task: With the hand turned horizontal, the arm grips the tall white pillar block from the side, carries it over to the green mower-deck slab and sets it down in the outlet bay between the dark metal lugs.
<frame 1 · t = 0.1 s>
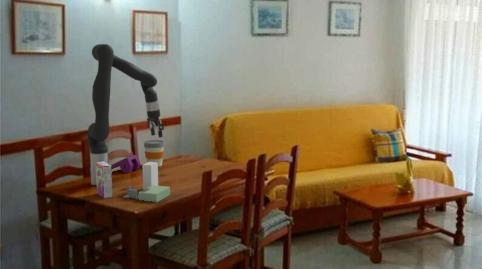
hand: (157, 136, 314), 22 cm above the table, tool pointing down, fingers open, 8 cm apart
deck: (154, 197, 269), on the table
mounting bracket: (123, 170, 327), on the table
tall white pillar block: (150, 189, 283), on the table
candy bar box: (104, 196, 272), on the table
reusable coffee cup: (154, 165, 339), on the table
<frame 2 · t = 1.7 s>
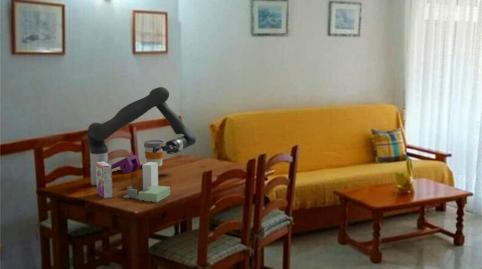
hand: (160, 151, 290), 18 cm above the table, tool horizontal, fingers open, 8 cm apart
nothing on the table moved.
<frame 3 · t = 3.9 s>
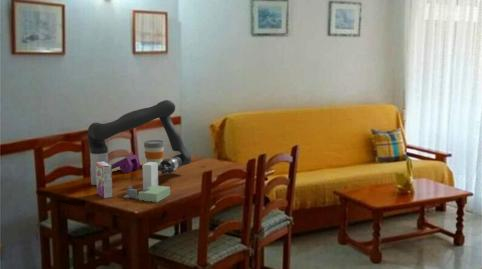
hand: (154, 171, 286), 8 cm above the table, tool horizontal, fingers open, 8 cm apart
nothing on the table moved.
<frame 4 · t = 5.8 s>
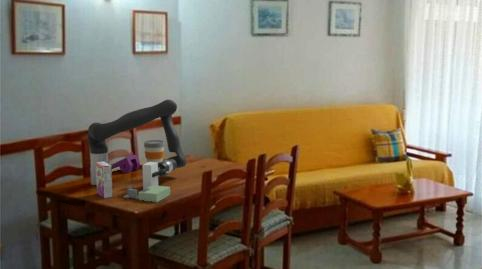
hand: (147, 175, 279), 8 cm above the table, tool horizontal, fingers closed on tall white pillar block, 5 cm apart
tall white pillar block: (150, 189, 283), on the table, touching gripper
everything else where it was.
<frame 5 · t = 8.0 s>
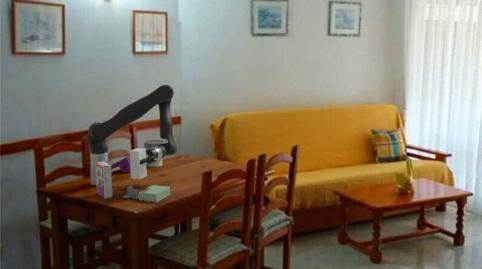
hand: (135, 161, 267), 18 cm above the table, tool horizontal, fingers closed on tall white pillar block, 5 cm apart
tall white pillar block: (138, 177, 271), point 9 cm above the table, touching gripper
everything else where it was.
when the fingers open (10 cm above the table, at t = 10.2 s): tall white pillar block drops 2 cm, on the table.
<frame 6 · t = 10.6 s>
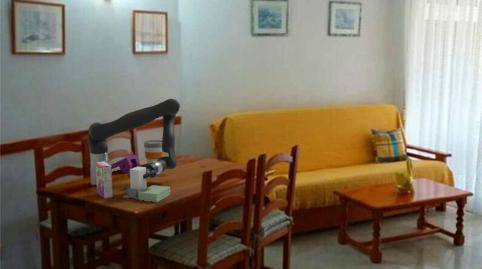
hand: (136, 176, 268), 10 cm above the table, tool horizontal, fingers open, 8 cm apart
tall white pillar block: (138, 195, 272), on the table
everything else where it was.
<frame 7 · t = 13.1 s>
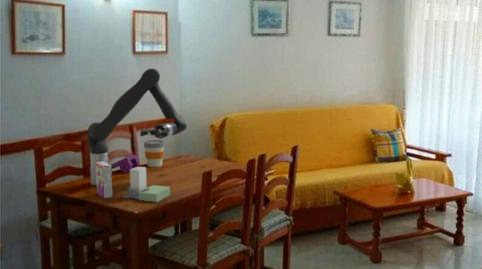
hand: (148, 134, 277), 29 cm above the table, tool horizontal, fingers open, 8 cm apart
nothing on the table moved.
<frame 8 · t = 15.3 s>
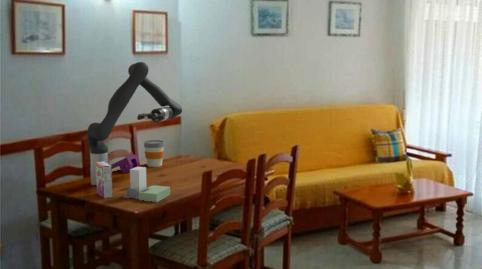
hand: (145, 118, 288), 36 cm above the table, tool horizontal, fingers open, 8 cm apart
nothing on the table moved.
at the end: tall white pillar block 0.1 cm from the target spot, on the table; tall white pillar block tilted 0°; the gripper is holding nothing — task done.
